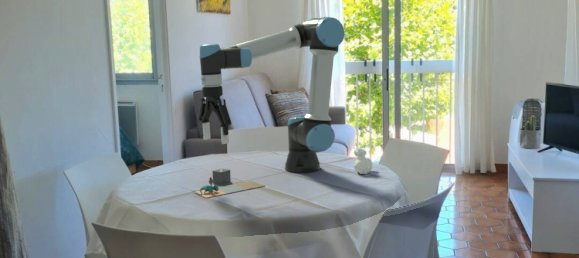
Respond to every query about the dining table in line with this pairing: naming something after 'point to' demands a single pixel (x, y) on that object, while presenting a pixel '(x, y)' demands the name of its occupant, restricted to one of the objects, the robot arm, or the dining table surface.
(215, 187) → the dragon figurine
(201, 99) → the robot arm
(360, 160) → the duck figurine
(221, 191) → the game board
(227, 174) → the die
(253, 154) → the dining table surface
